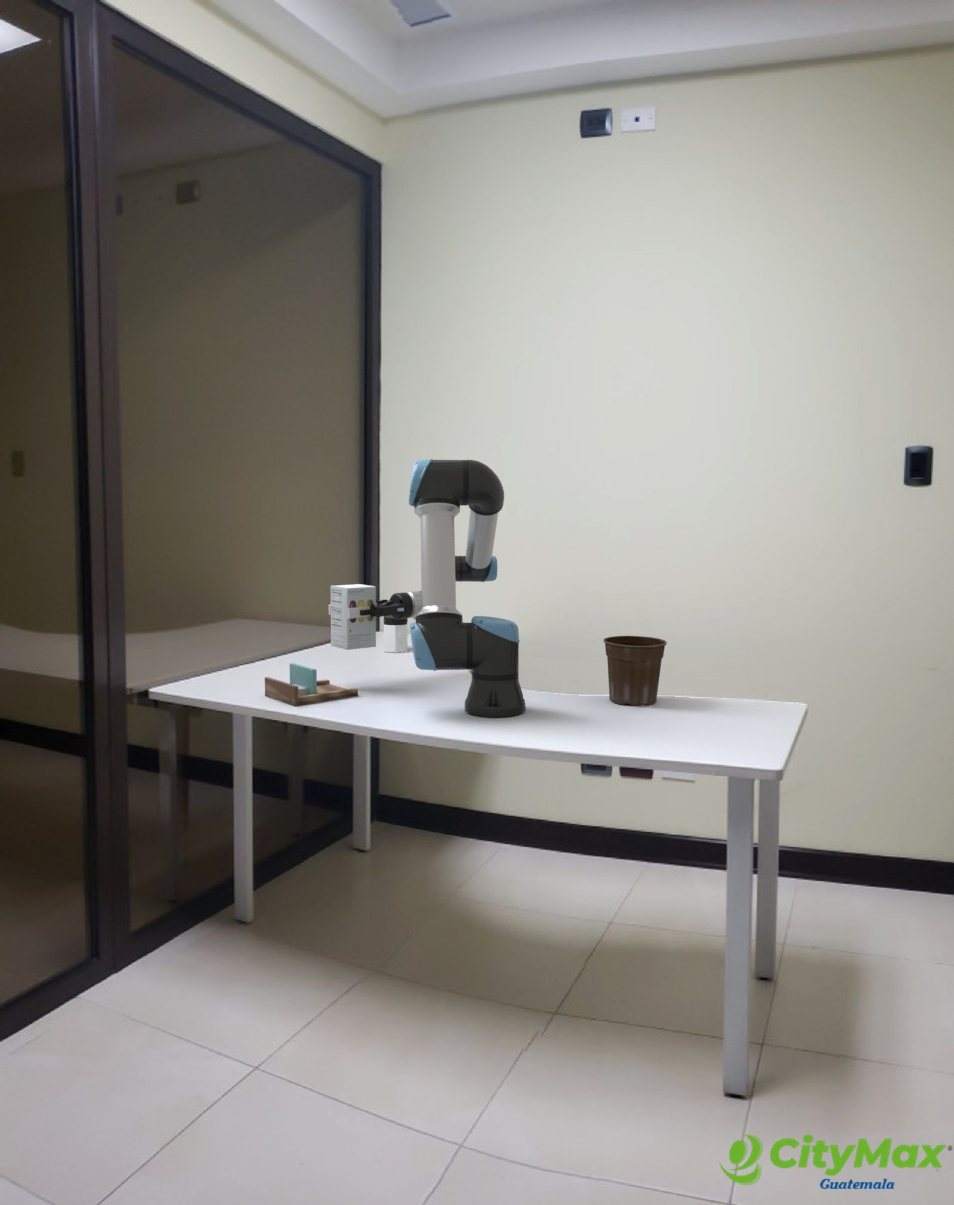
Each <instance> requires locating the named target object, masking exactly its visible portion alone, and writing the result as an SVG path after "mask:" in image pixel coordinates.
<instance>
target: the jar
mask: <svg viewBox="0 0 954 1205" xmlns="http://www.w3.org/2000/svg"><path fill="white" fill-rule="evenodd" d="M408 619H409V618H407V619H395V618H394V617H393V616H392V615H389V616H383V653H389V652H401V653H404V652H403V651H407V652H408Z"/></svg>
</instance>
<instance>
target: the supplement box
mask: <svg viewBox="0 0 954 1205" xmlns="http://www.w3.org/2000/svg"><path fill="white" fill-rule="evenodd" d="M376 596H377V588H376V586H375V585H367V584H361V583H355V584H340V585H339V584H338V585H337V584H336V585H330V605H331V615H330V646H331V647H336V648H338V649H343V650H347V651H349V650H358V649H359V650H361V649H367V648H369V649H370V648H376V646H377V616H374V617H372V616H371V615H370V617H360V618H350V619H349V618H348V608H356V607H368V606H369V607H370V609H371V605H372V604H373V605H375V606H376V600H377V597H376Z"/></svg>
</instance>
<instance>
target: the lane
mask: <svg viewBox="0 0 954 1205" xmlns="http://www.w3.org/2000/svg"><path fill="white" fill-rule="evenodd" d="M264 696H265V697H267V696H268V697H267V698H270V699H274V700H276V701H278V700H279V702H282V703H284V704H288V705H291V706H293V707H298V706H306V705H311V704H318V703H323V702H329V701H330V702H331V701H335V700H343V699H348V698H354V697H359V688H358V687H351V688H344V687H342V686H338V685H334V684H331V683H330V680H329V679H321V680H317V694H312V695H304V696H298V686H295V685H292V684H290V682H289V683H288V682H285V681H283V680H279V679H275V678H273V677H270V676H266V677H264Z"/></svg>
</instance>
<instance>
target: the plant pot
mask: <svg viewBox="0 0 954 1205" xmlns="http://www.w3.org/2000/svg"><path fill="white" fill-rule="evenodd" d="M603 643H604V648H605V656H606V657H607V658H606V659H607V661H606V662H607V674H608V676H607V677H608V690H609V691H608V692H609V694H608V695H609V696H608V697H609V701H611V702H612V703H614V704H618V705H623V706H625V705H627V704H628V705H630V706H634V707H635V706H637V707H638V706H639V707H642V706H641V705H646V706H650V704H651V705H654V704H655V703H656V702H657V700H658V691H659V690H658V689H659V681H660V676H661V667H662V660H663V658H664V656H665V655H664V654H665V649H666V648H665V647H666V646H667V644H668V641H667V640H664V639H661V638H659V637H652V636H643V635H642V636H641V635H640V636H639V635H614V636H608V637H605V638H604V639H603ZM653 703H654V704H653Z"/></svg>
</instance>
